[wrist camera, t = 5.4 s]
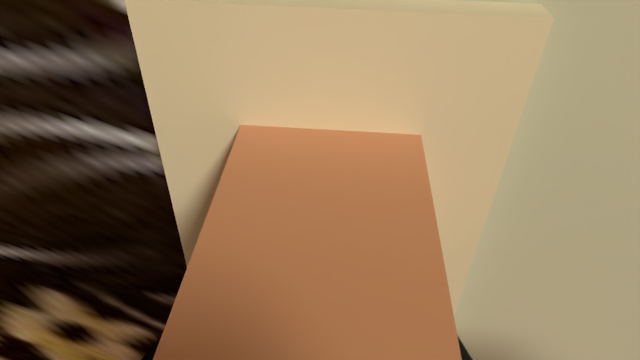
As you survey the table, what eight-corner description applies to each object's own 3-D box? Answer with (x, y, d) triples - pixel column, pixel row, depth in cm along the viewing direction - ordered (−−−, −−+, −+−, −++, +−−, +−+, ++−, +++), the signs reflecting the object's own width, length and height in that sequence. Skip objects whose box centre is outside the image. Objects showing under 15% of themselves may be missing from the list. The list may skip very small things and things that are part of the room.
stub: (540, 3, 7) (848, 348, 3) (427, 365, 13) (460, 644, 9) (139, -15, 7) (-209, 273, 3) (216, 349, 13) (146, 613, 9)
